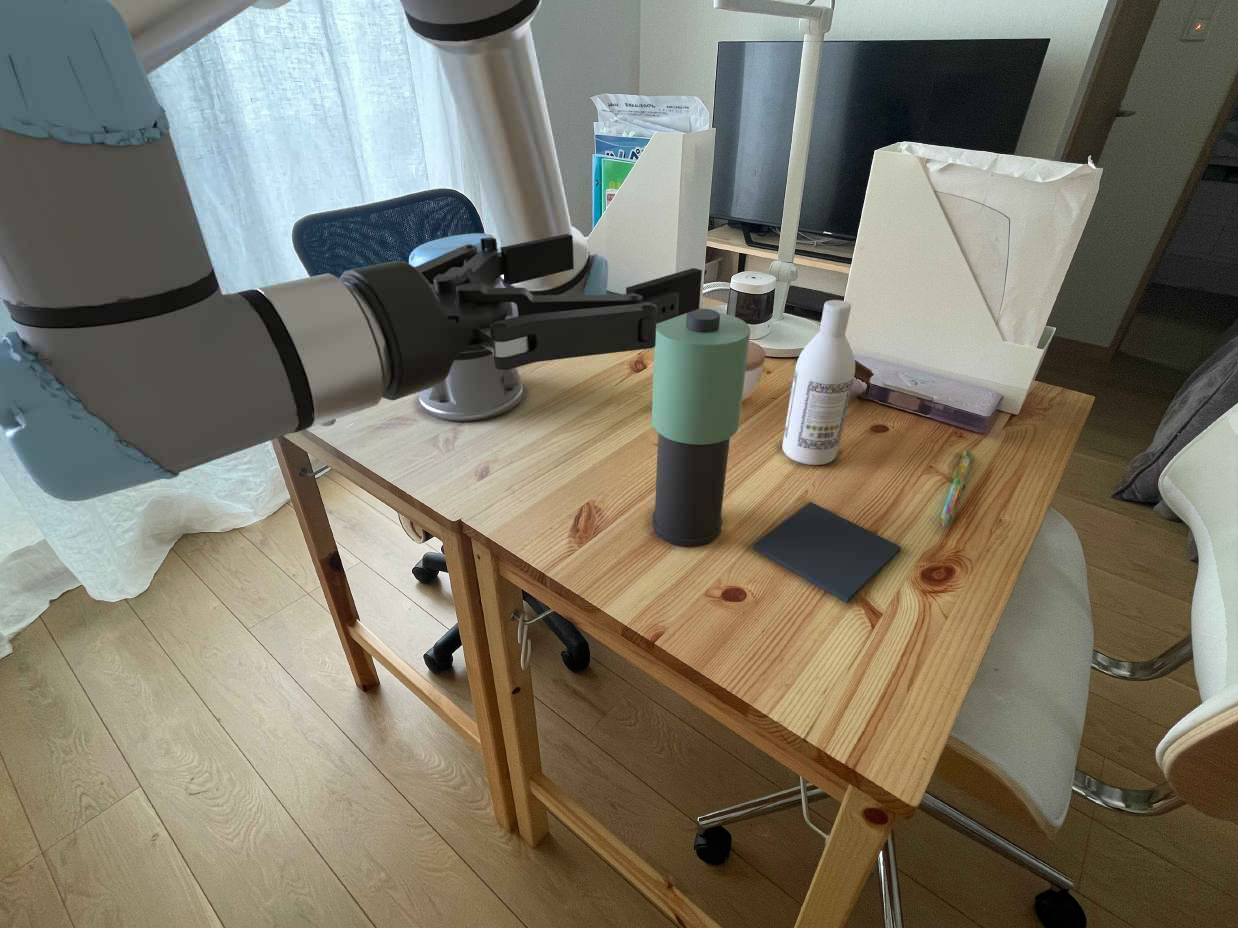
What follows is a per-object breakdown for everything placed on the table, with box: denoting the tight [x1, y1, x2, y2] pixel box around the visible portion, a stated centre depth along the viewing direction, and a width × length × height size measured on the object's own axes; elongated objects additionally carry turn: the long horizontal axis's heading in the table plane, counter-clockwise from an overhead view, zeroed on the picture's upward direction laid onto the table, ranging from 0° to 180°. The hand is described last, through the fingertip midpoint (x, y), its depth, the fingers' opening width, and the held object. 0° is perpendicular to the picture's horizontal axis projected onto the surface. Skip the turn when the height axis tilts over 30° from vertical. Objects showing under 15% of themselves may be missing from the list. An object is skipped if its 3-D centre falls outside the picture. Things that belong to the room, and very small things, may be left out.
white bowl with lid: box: [742, 340, 766, 403], centre depth 93 cm, size 11×11×9 cm
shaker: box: [652, 432, 731, 548], centre depth 66 cm, size 8×8×13 cm
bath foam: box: [781, 299, 856, 466], centre depth 77 cm, size 7×7×20 cm
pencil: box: [940, 449, 975, 529], centre depth 75 cm, size 1×1×18 cm
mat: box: [752, 501, 902, 604], centre depth 66 cm, size 11×11×1 cm
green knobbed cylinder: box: [651, 308, 751, 445], centre depth 60 cm, size 9×9×11 cm
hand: (628, 268), depth 48 cm, fingers open, 13 cm apart
